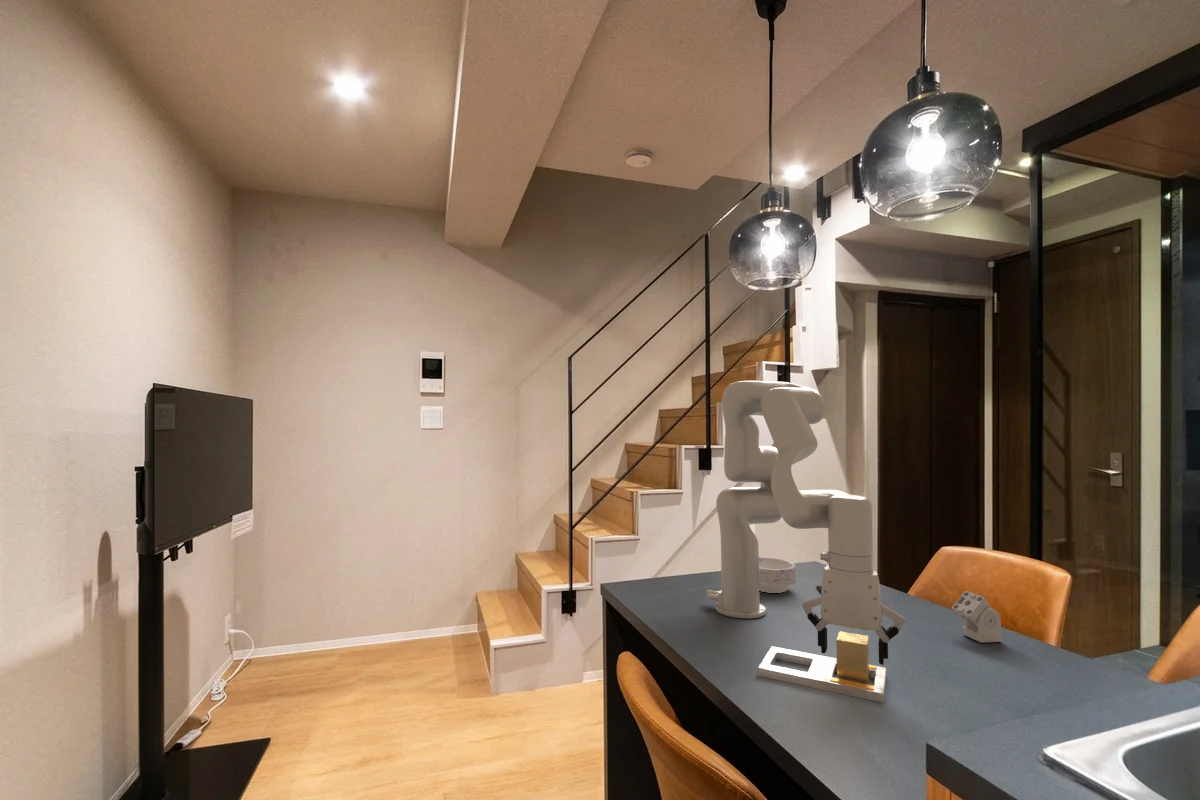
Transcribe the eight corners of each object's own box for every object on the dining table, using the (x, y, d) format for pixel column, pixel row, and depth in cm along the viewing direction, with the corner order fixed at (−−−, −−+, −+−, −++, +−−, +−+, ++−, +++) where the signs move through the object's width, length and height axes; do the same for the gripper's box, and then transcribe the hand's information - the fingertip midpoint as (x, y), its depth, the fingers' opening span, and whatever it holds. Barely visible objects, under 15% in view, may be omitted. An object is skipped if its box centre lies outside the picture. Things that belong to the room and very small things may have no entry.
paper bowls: (797, 599, 150) (796, 570, 151) (740, 594, 155) (740, 566, 156) (795, 585, 165) (795, 558, 165) (744, 580, 169) (743, 555, 170)
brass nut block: (837, 684, 99) (836, 639, 99) (840, 674, 103) (839, 631, 104) (868, 691, 96) (866, 644, 97) (869, 680, 101) (868, 636, 101)
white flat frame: (758, 675, 102) (758, 666, 102) (772, 653, 113) (771, 645, 113) (883, 702, 92) (883, 692, 92) (886, 675, 102) (885, 666, 103)
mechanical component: (1003, 643, 119) (1000, 596, 120) (970, 644, 118) (968, 597, 119) (983, 634, 124) (981, 589, 125) (951, 635, 123) (950, 590, 124)
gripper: (798, 560, 102) (799, 653, 101) (903, 573, 94) (905, 674, 93) (804, 552, 109) (806, 640, 108) (903, 563, 100) (906, 658, 99)
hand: (852, 656), depth 100 cm, fingers open, 9 cm apart
